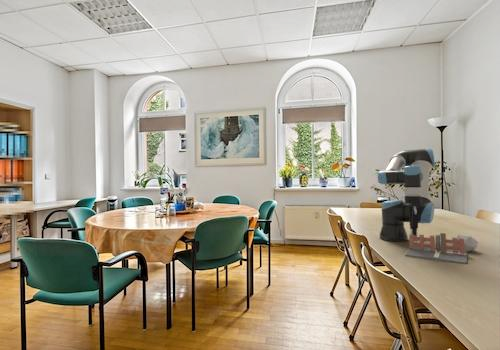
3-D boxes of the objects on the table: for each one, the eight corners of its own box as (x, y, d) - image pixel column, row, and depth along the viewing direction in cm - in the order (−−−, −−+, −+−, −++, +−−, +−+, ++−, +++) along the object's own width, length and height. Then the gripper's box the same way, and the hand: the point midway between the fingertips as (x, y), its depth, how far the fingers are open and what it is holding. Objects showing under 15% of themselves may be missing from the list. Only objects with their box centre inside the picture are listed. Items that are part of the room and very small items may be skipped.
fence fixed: (441, 252, 132) (440, 233, 132) (441, 251, 134) (440, 232, 134) (464, 254, 127) (463, 235, 127) (464, 253, 128) (463, 234, 128)
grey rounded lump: (479, 255, 129) (483, 237, 132) (461, 246, 131) (465, 228, 134) (466, 257, 137) (471, 240, 140) (449, 248, 138) (454, 231, 141)
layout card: (412, 246, 146) (412, 245, 146) (467, 253, 131) (467, 251, 131) (405, 255, 130) (405, 254, 130) (466, 264, 116) (466, 262, 116)
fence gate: (440, 250, 134) (439, 235, 134) (440, 251, 132) (440, 235, 133) (409, 247, 141) (409, 233, 141) (409, 248, 139) (409, 233, 139)
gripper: (402, 194, 149) (404, 238, 148) (406, 196, 137) (408, 243, 136) (418, 194, 146) (420, 238, 145) (424, 196, 134) (425, 244, 134)
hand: (414, 241), depth 141 cm, fingers closed
